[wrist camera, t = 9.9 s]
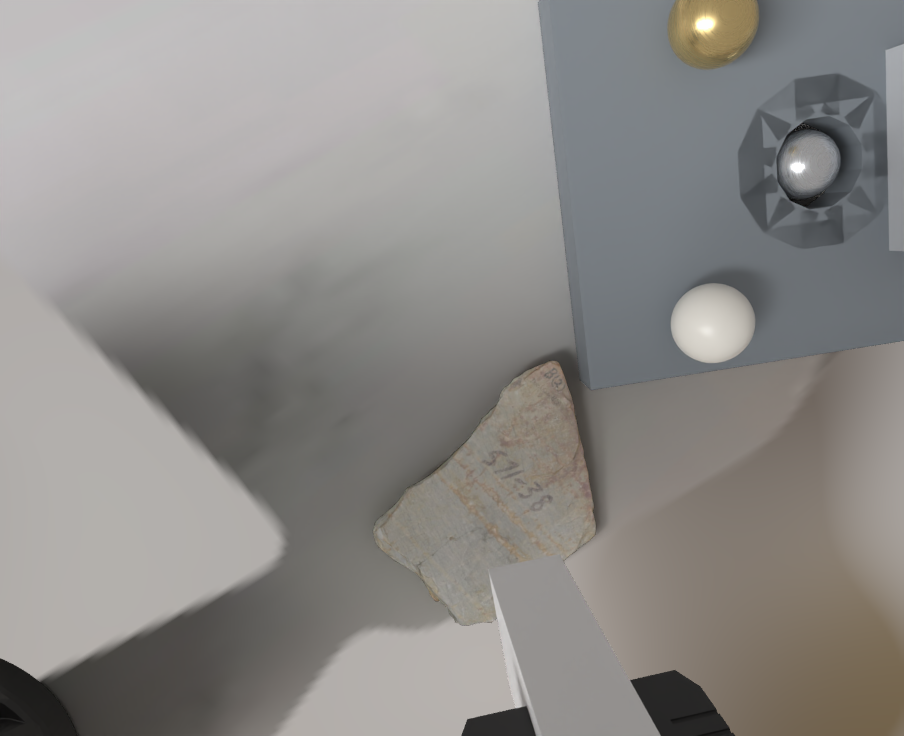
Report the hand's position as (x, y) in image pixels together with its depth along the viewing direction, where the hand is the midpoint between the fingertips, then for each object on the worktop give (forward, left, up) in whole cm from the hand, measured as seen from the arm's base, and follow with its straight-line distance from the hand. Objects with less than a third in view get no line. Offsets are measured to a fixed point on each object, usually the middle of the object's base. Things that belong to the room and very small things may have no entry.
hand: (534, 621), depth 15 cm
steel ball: (+20, +8, -25) cm, 32 cm away
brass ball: (+14, +15, -22) cm, 30 cm away
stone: (+1, -8, -27) cm, 28 cm away
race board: (+16, +8, -26) cm, 32 cm away
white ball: (+13, +1, -22) cm, 25 cm away
